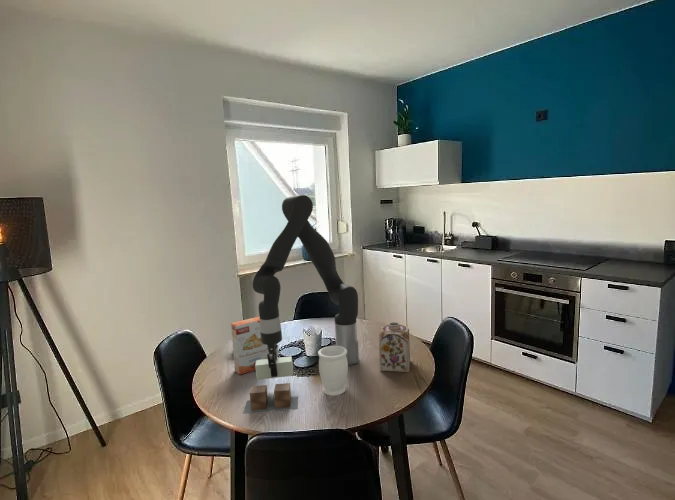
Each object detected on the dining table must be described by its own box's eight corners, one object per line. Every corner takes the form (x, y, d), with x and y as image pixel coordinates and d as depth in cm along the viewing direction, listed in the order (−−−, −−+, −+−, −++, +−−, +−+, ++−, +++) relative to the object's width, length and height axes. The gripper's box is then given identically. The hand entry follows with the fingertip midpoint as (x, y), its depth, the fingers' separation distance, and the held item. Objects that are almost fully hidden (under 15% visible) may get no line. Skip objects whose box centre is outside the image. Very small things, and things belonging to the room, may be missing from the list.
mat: (298, 397, 133) (298, 396, 133) (297, 409, 125) (297, 408, 125) (247, 401, 132) (246, 400, 132) (242, 414, 124) (242, 413, 124)
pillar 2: (291, 399, 131) (290, 383, 130) (290, 407, 126) (289, 390, 125) (276, 400, 131) (275, 384, 130) (275, 408, 126) (274, 391, 125)
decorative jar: (409, 373, 147) (408, 329, 145) (379, 371, 150) (378, 328, 147) (410, 360, 159) (409, 319, 156) (382, 358, 161) (381, 318, 159)
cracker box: (239, 375, 152) (235, 326, 149) (234, 370, 157) (230, 322, 154) (271, 365, 160) (267, 318, 157) (265, 361, 165) (261, 315, 162)
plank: (293, 370, 141) (291, 356, 140) (292, 375, 137) (291, 361, 136) (258, 374, 140) (256, 360, 139) (256, 379, 136) (255, 365, 135)
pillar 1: (268, 401, 131) (266, 384, 130) (266, 408, 126) (265, 392, 125) (253, 402, 130) (252, 386, 130) (251, 410, 125) (249, 393, 125)
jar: (339, 400, 130) (336, 359, 127) (314, 393, 135) (312, 353, 133) (354, 387, 138) (352, 348, 136) (330, 380, 144) (328, 343, 142)
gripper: (279, 335, 129) (284, 381, 132) (282, 321, 143) (286, 363, 146) (257, 337, 129) (262, 383, 131) (262, 323, 143) (266, 365, 145)
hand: (275, 372), depth 138 cm, fingers closed on plank, 4 cm apart
